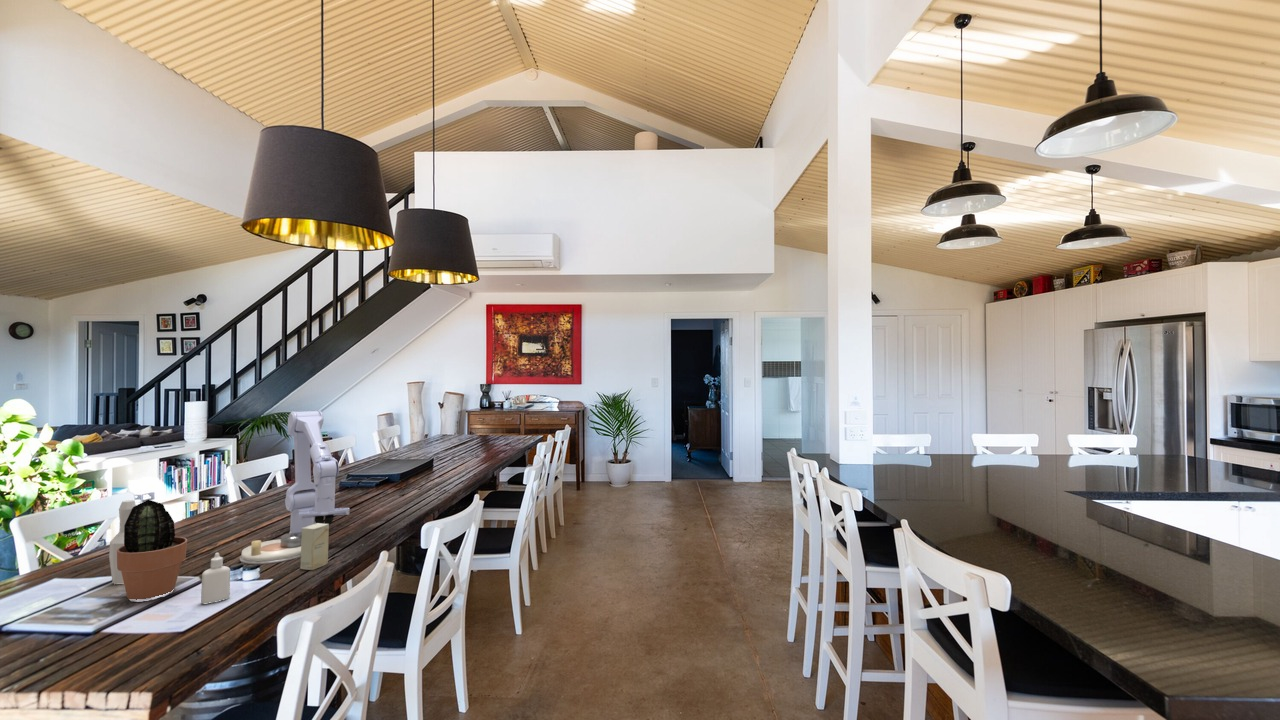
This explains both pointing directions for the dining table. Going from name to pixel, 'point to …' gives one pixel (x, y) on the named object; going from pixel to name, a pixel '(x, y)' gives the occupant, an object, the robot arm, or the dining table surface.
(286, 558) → the turntable base
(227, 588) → the eye dropper bottle
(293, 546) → the cover
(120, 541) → the faceted bottle
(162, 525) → the potted plant
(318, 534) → the skincare box
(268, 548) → the disc
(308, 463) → the robot arm
